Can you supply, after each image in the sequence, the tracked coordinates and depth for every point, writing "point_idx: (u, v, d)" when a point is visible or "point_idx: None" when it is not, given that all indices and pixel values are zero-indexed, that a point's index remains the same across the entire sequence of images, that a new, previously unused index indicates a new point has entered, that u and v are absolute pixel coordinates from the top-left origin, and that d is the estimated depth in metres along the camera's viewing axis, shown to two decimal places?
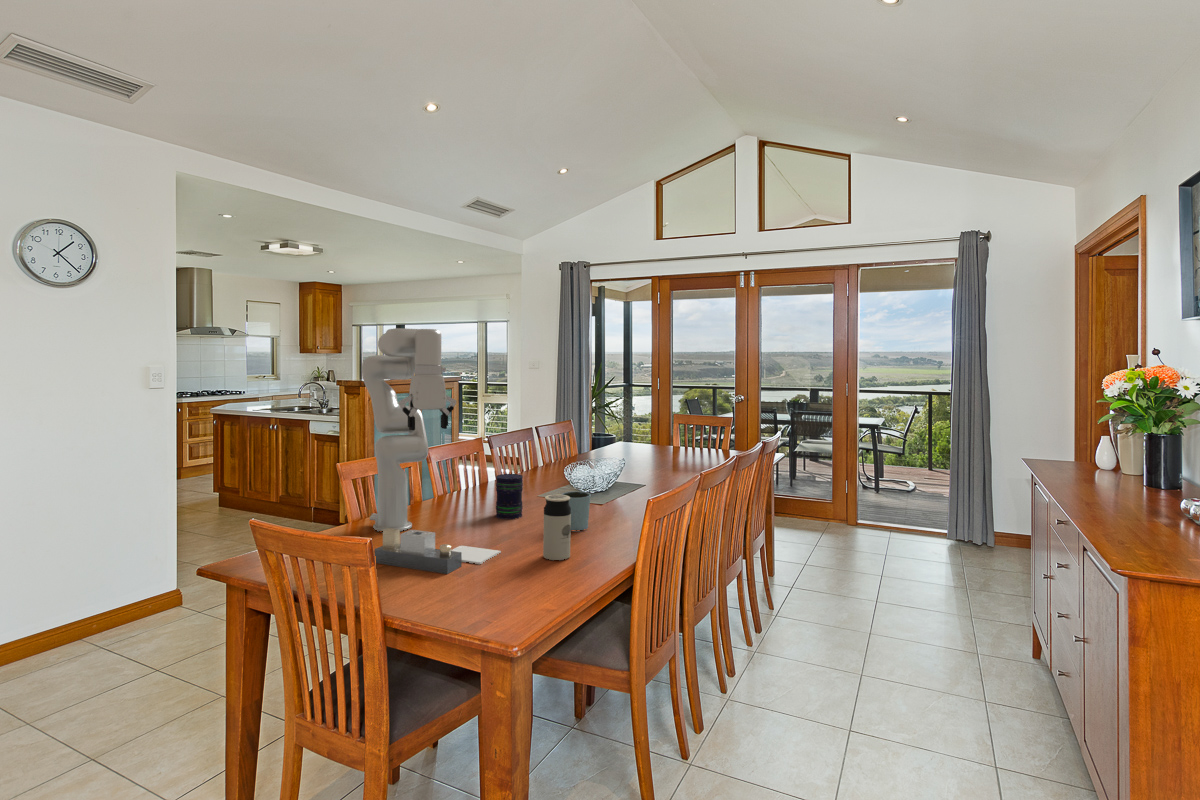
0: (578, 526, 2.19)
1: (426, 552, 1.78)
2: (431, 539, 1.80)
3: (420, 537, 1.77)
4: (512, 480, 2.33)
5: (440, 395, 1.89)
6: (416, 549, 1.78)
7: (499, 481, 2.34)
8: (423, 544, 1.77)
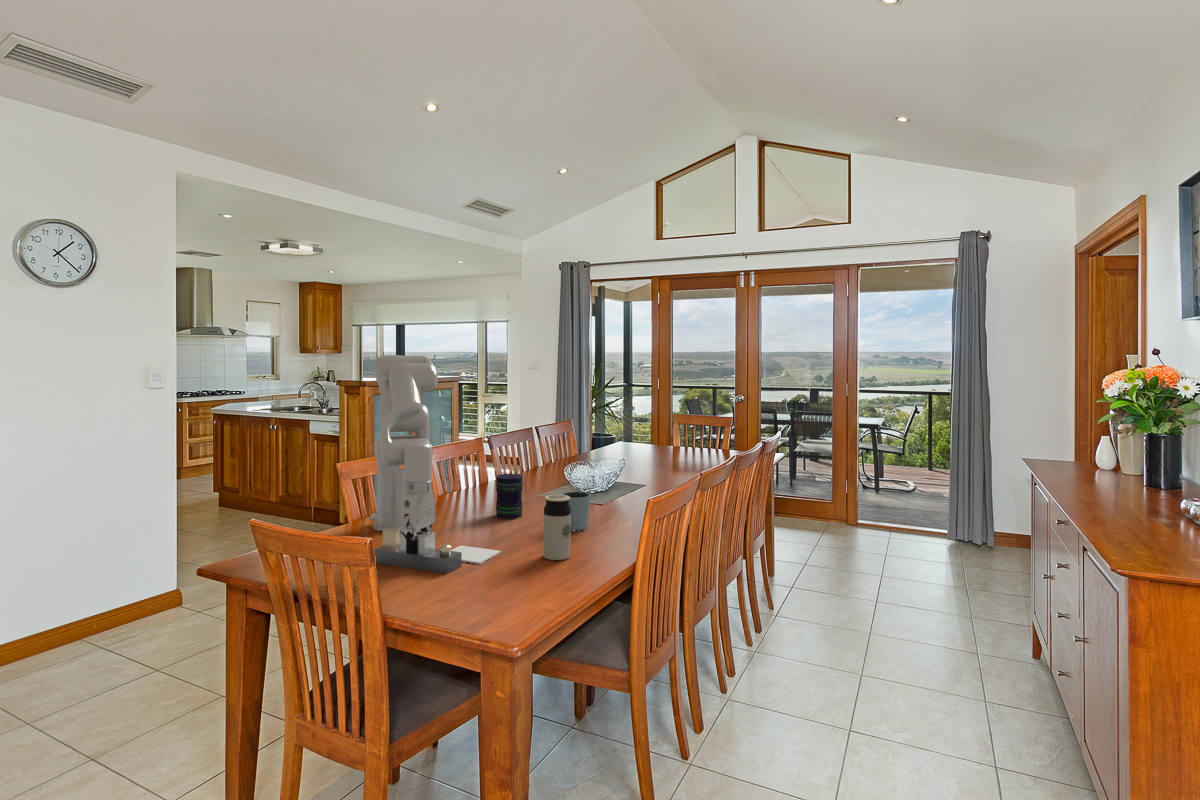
0: (578, 526, 2.19)
1: (426, 552, 1.78)
2: (431, 539, 1.80)
3: (420, 537, 1.77)
4: (512, 480, 2.33)
5: None
6: None
7: (499, 481, 2.34)
8: (423, 544, 1.77)
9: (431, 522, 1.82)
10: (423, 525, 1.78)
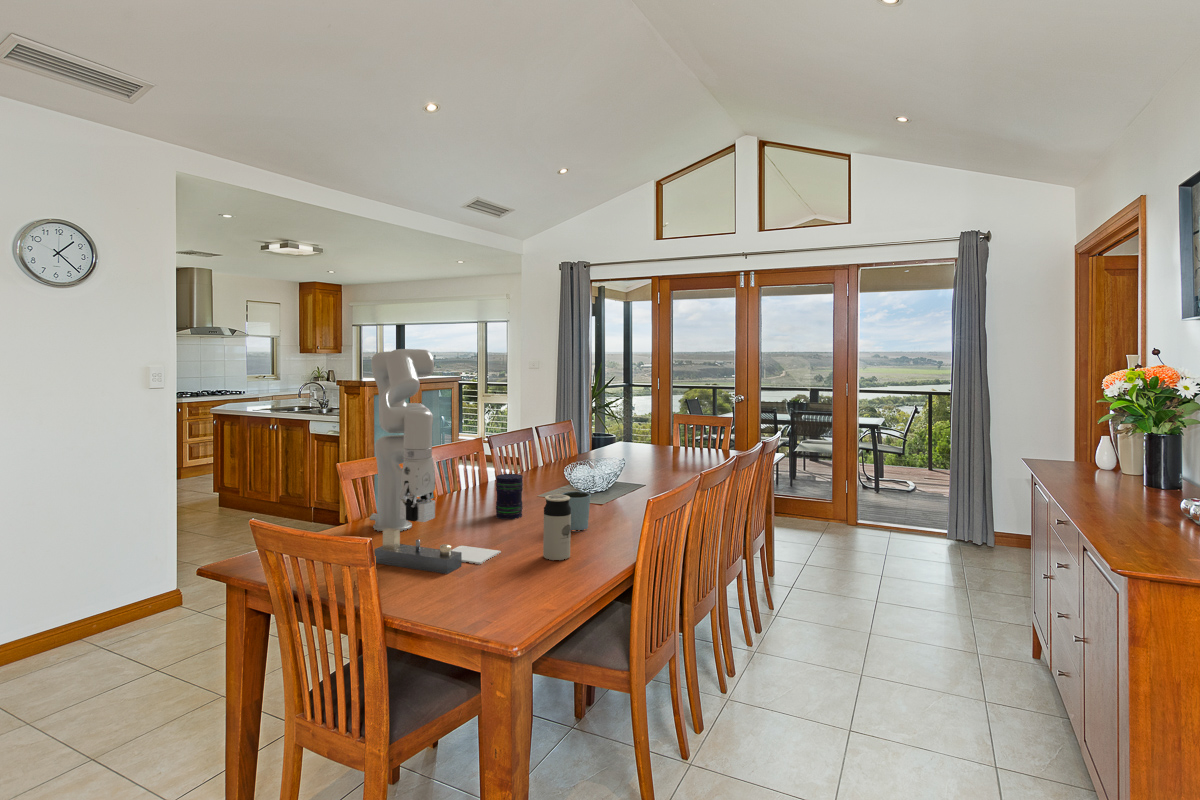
0: (578, 526, 2.19)
1: (426, 519, 1.78)
2: (431, 507, 1.80)
3: (420, 504, 1.77)
4: (512, 480, 2.33)
5: None
6: None
7: (499, 481, 2.34)
8: (423, 511, 1.77)
9: (431, 490, 1.81)
10: (422, 493, 1.77)
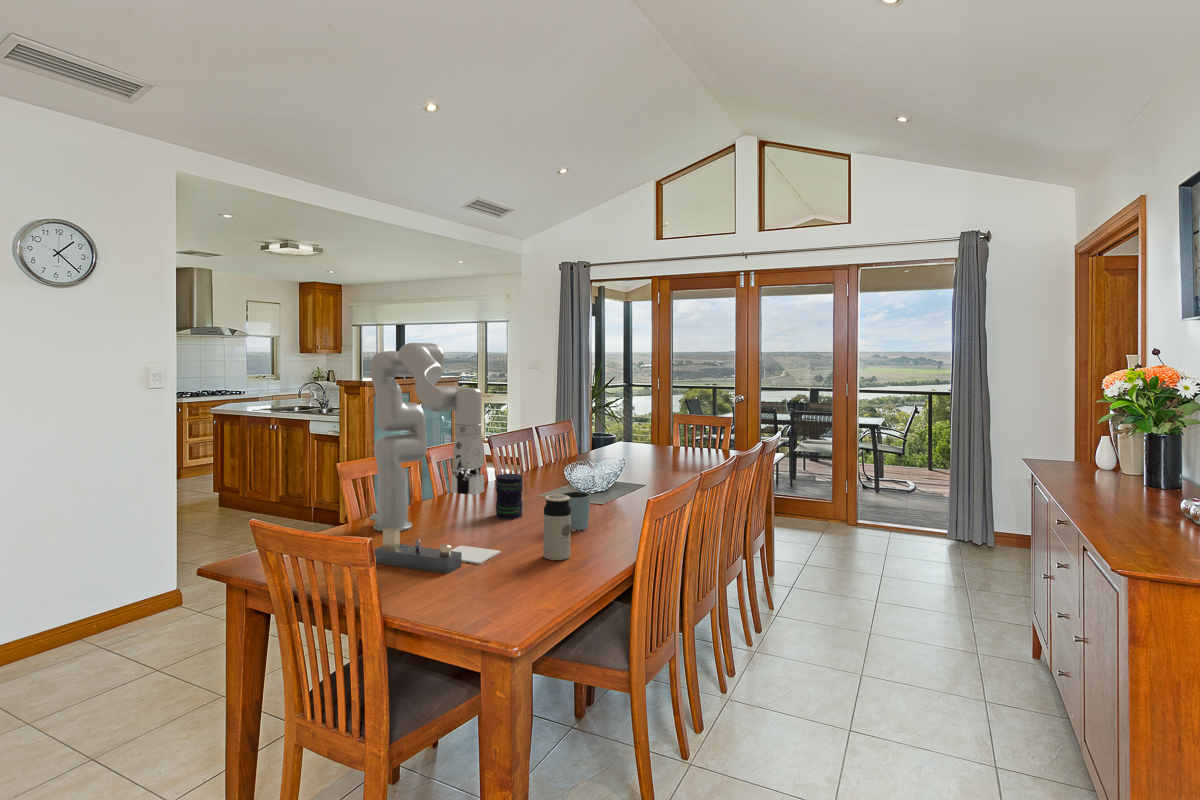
0: (578, 526, 2.19)
1: (476, 492, 1.85)
2: (481, 480, 1.87)
3: (471, 478, 1.85)
4: (512, 480, 2.33)
5: None
6: None
7: (499, 481, 2.34)
8: (474, 484, 1.85)
9: (480, 465, 1.89)
10: (473, 467, 1.85)
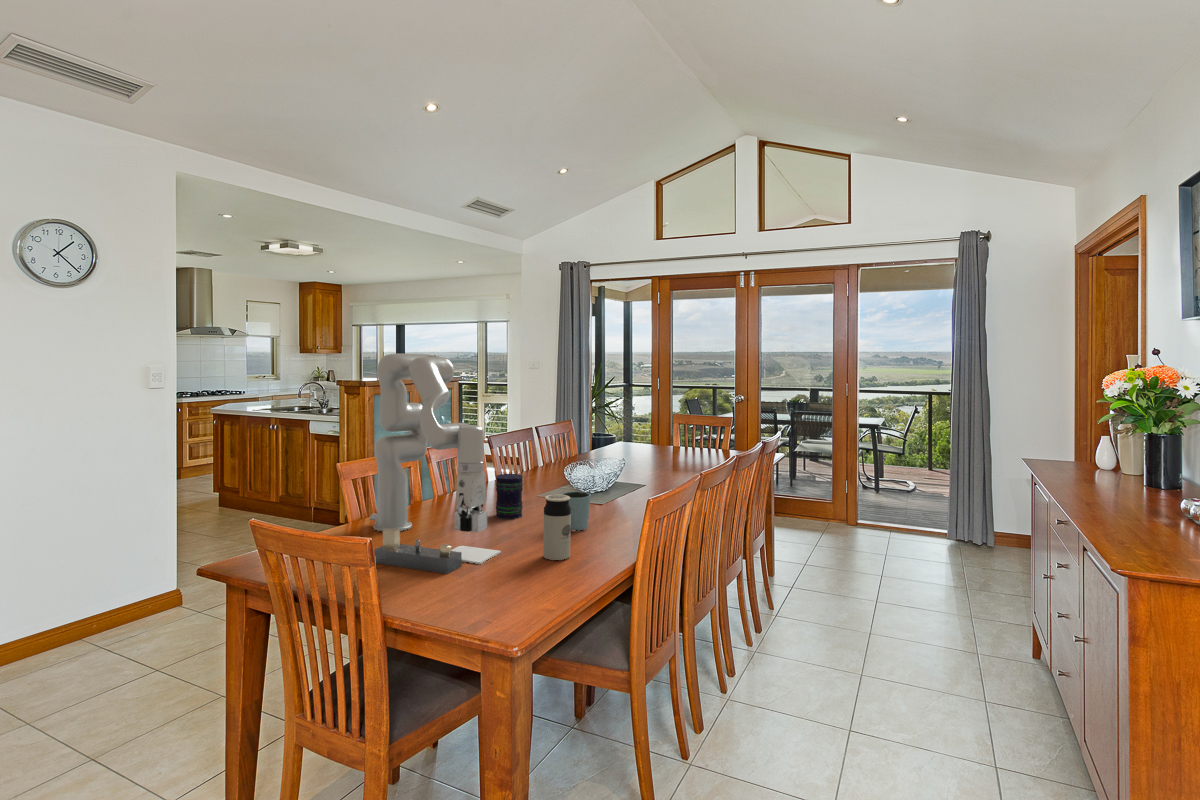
0: (578, 526, 2.19)
1: (479, 530, 1.87)
2: (484, 517, 1.89)
3: (474, 515, 1.86)
4: (512, 480, 2.33)
5: None
6: None
7: (499, 481, 2.34)
8: (477, 522, 1.86)
9: (483, 501, 1.90)
10: (476, 504, 1.87)
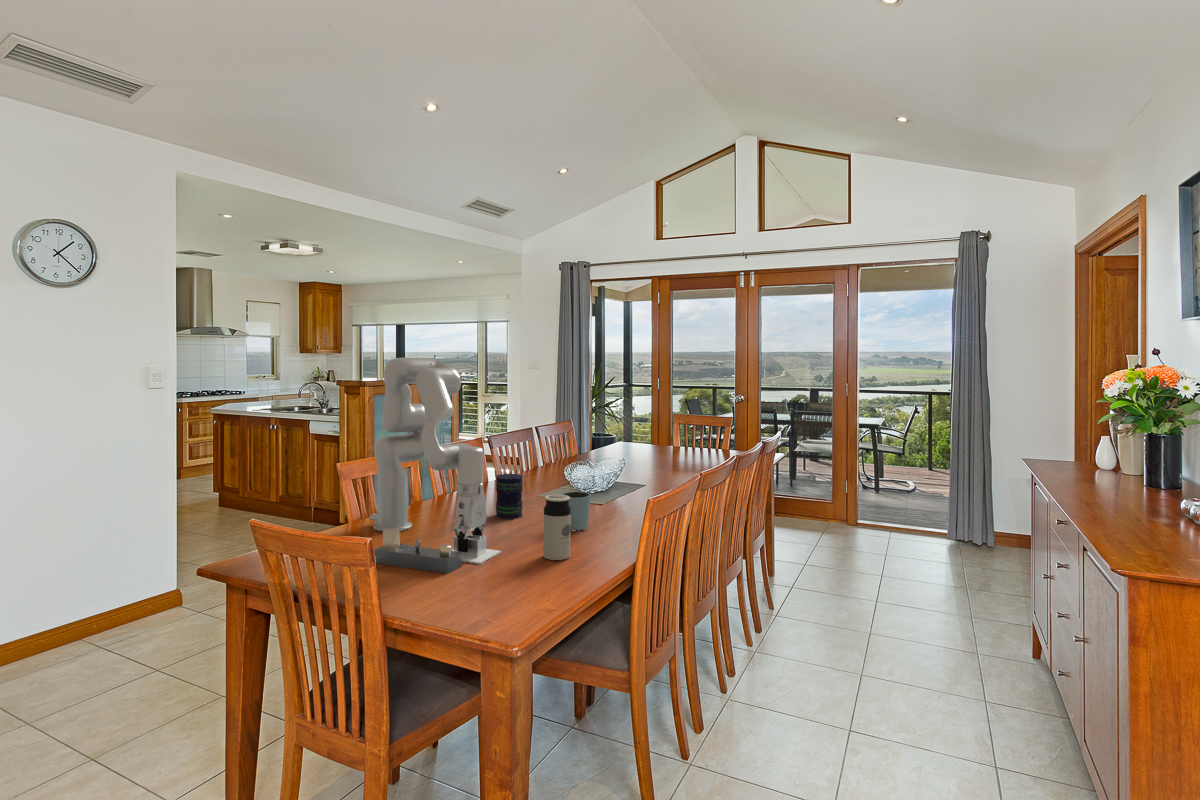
0: (578, 526, 2.19)
1: (479, 555, 1.87)
2: (483, 542, 1.89)
3: (473, 541, 1.87)
4: (512, 480, 2.33)
5: None
6: (469, 552, 1.87)
7: (499, 481, 2.34)
8: (476, 547, 1.86)
9: (482, 522, 1.91)
10: (475, 526, 1.87)
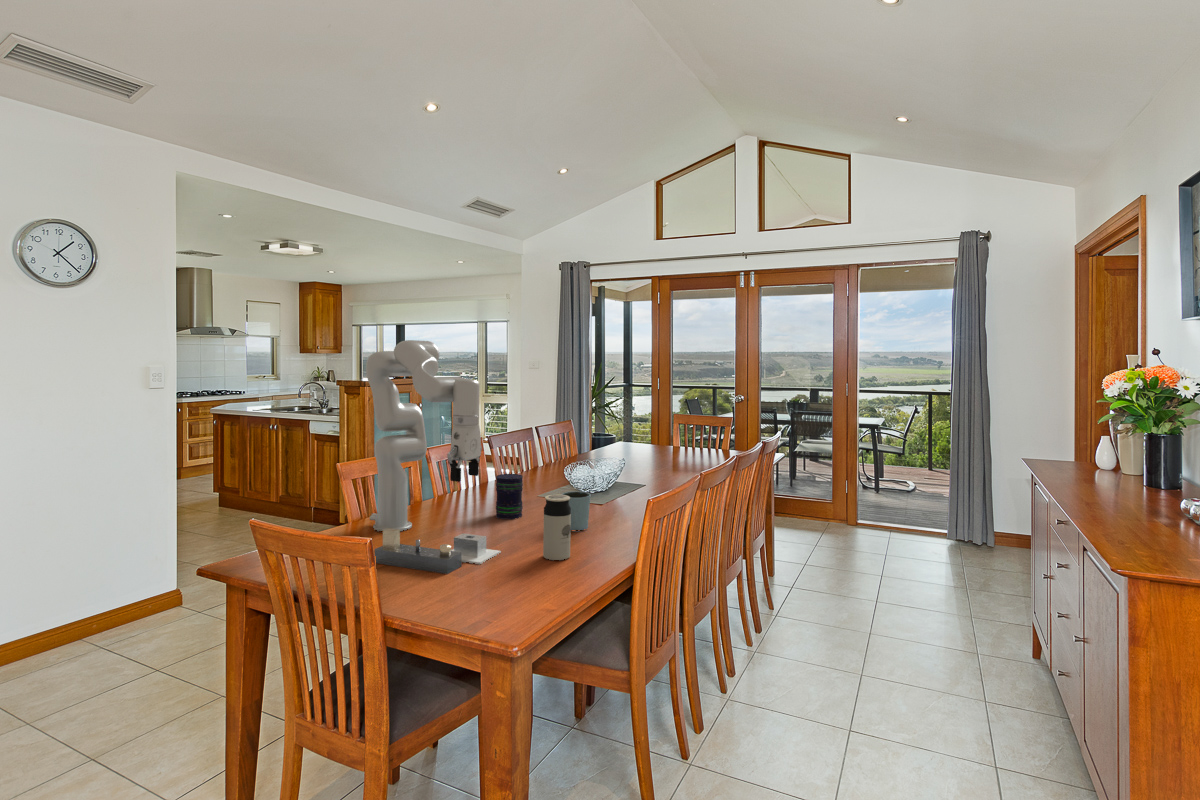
0: (578, 526, 2.19)
1: (479, 555, 1.87)
2: (483, 542, 1.89)
3: (473, 541, 1.87)
4: (512, 480, 2.33)
5: None
6: (469, 552, 1.87)
7: (499, 481, 2.34)
8: (476, 547, 1.86)
9: (477, 455, 1.91)
10: (470, 457, 1.88)
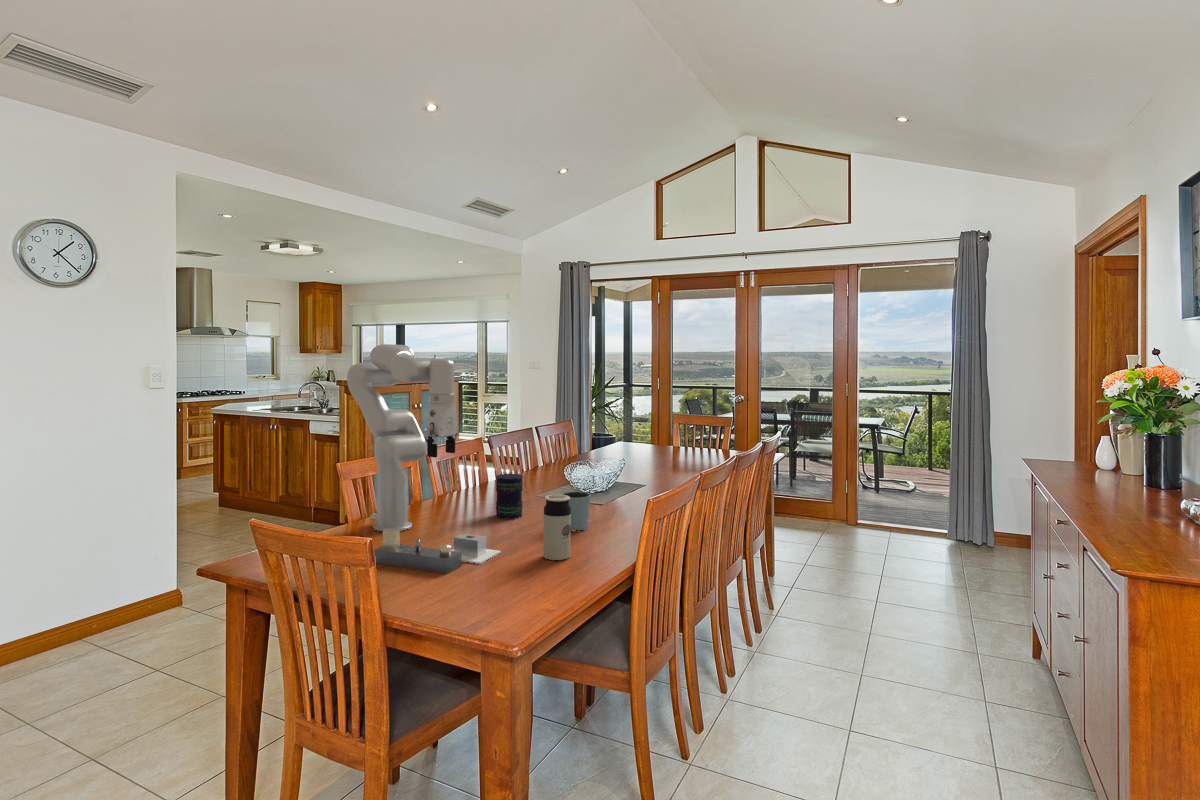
0: (578, 526, 2.19)
1: (479, 555, 1.87)
2: (483, 542, 1.89)
3: (473, 541, 1.87)
4: (512, 480, 2.33)
5: None
6: (469, 552, 1.87)
7: (499, 481, 2.34)
8: (476, 547, 1.86)
9: (453, 433, 2.00)
10: (446, 434, 1.96)
